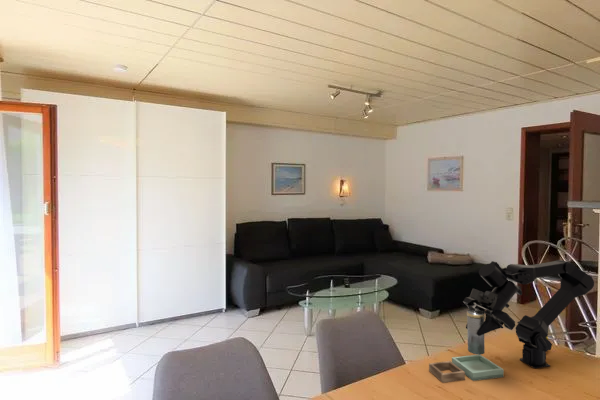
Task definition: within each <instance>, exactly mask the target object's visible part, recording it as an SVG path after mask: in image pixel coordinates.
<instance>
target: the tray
mask: <svg viewBox="0 0 600 400" xmlns="http://www.w3.org/2000/svg"><path fill="white" fill-rule="evenodd" d="M451 362H452V363H453V364H455V365H456V366H457V367H459V368H460V369H461V370H463V371H464V372H465V377H467V378H469V379H470V380H471V381H473V382H475V381H482V380H483V381H484V380H491V379H492V380H493V379H498V378H499V379H500V378H504V376H505V375H504V372H505V371H504V368H502V367H501V366H499V365H498V364H496V363H495V362H493V361H491V360H490V359H488V358H487V357H485V356H483V354H471V355H465V356H464V355H463V356H452V357H451Z"/></svg>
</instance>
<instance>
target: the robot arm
mask: <svg viewBox="0 0 600 400" xmlns="http://www.w3.org/2000/svg"><path fill="white" fill-rule="evenodd" d="M478 274H479V276H480V277H481V278H482V279H483V280H484V281H485V282H486V283H487V284H488V285H489V286H490V287H491V288H493V289H492V291H490V290H486V291H485V292H483V291H481V290H478V289H475V288H472V290H471V292H470V295H469V296H468V297H467V296H466V297H465V298H464V300H463V301H462V302H463V303H464V305H465V306H467V308H468V310H479V311H482V312H484V315H485V318H484V323H483V324H482V325H481V327H480V328H479V330H478V332H477V335H478V336H481V335H483V334H484V335H485V334H487V333H490V332H493V331H496V330H498V329H504V327H505V329H508V330H510V331H513V330H514V329H515V334H516V336H517V339H518V341H519V342H520V343H523V345H522V352H521V353H522V355H521V356H522V358H520V357H519V361H521V362H522V363H524V364H526V365H528V366H529V367H531V368H533V369H541V368H548V367H551V365H550V364H549V363H547V352H548V351H551V350H552V346H553V343H552V342H551V341H550V340H549V338H548V339H547V338H546V337H547V336H548V335H549V327H550V326H551V325H552V323H554V321H555V320H556V319H557V317H559V316H560V314H561V313H562V312H563V311H564V310H565V309H566V308H567V307H568V306H569V305H570V303H571V302H573V300H574V299H576V298H578V297H582V296H584V295H587V293H589V292H590V291H591V290H592V289H593V288H594V287H595V281H594V279H593V277H592V276H591V275H589V274H588V273H586V272H585V271H583V270H582V269H580V268H578V267H577V266H575V264H573V263H572V262H570V261H567V260H564V259H563V260H562V259H557V260H553V261H547V262H541V263H535V264H518V263H510V264H508V265H506V267H504V268H502V267H501V266H500V264H499V263H498V262H497V261H494V260H493V261H491V262H490V263H487V264H484V265H483V266H481V267H480V269H479V270H478ZM555 275H558V277H560V279H561V280H560V282H559V283H560V284H559V285H560V287H559V289H558V290H557V291H556V292H555V293H554V294H553V295H552V296H551V297H550V299H548V301H546V303H544V305H543V306H542V307H541V308H540V309H539V310H538V311H537V312H536V314H534V315H533V316H528V315H524V316H522V318H520V320H519V321H515V320H514V319H513V318H512V317H511V316H510V315H509V313H507V312H505V311H503V310H504V308H507V309H509V307H510V305H509V304H508V303H509V302H510V301H511V300H512V299H513V297H514V296H515V294H517V295H519V296H522V295H523V291H522V287H521V286H520V285H517V284H521V285H529V284H531V283H533V282H535V281H536V279H538V278H544V277H549V276H555ZM516 283H517V284H516ZM516 323H517V325H516ZM465 330H467V331H468V329H467V324H466V325H465Z"/></svg>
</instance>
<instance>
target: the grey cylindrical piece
mask: <svg viewBox="0 0 600 400" xmlns="http://www.w3.org/2000/svg"><path fill="white" fill-rule="evenodd" d="M484 321H485V313H484V312H482V311H479V310H469V309H468V310H466V325H467V329H468V330H467V329H466V330H467V351H468V352H469V353H471V354H472V355H478V354H480V355H483V354H484V355H485V350H486V349H485V334H483V335H481V336H478V335H477V332H478V330H479V328H480V327H481V325H482V324H483V323H484Z"/></svg>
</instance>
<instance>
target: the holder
mask: <svg viewBox="0 0 600 400" xmlns="http://www.w3.org/2000/svg"><path fill="white" fill-rule="evenodd" d="M428 371H429V372H430V373H431V375H434V377H435V378H437V379H438V380H439V381H440V382H441V383H443V384H444V383H451V382H458V381H465V380H466V375H465V372H464V371H463V370H461V369H460V368H459V367H457V366H456V365H455V364H453V363H452V360H447V361H439V362H431V363H428ZM443 371H451V372H445V373H444V372H443Z"/></svg>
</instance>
